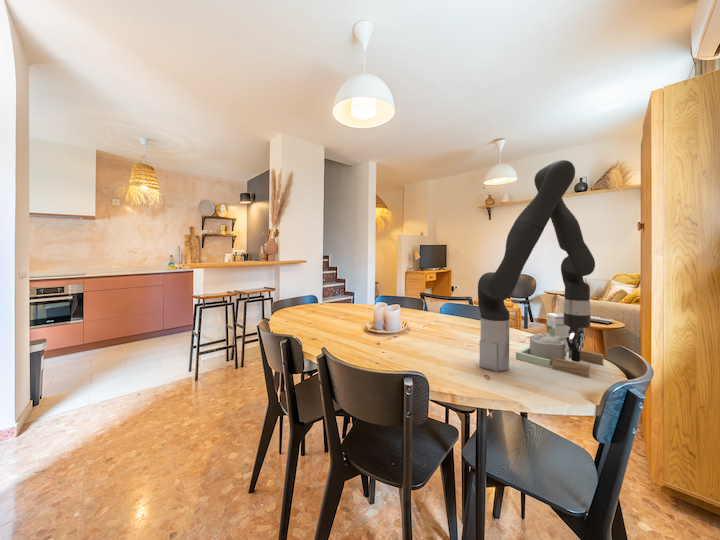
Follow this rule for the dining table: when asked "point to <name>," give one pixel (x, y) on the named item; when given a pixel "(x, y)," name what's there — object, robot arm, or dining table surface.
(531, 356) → the green rectangular frame
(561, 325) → the syrup box
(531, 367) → the dining table surface
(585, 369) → the chute
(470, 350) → the dining table surface
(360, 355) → the dining table surface
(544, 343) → the lumpy-topped squat cylinder
